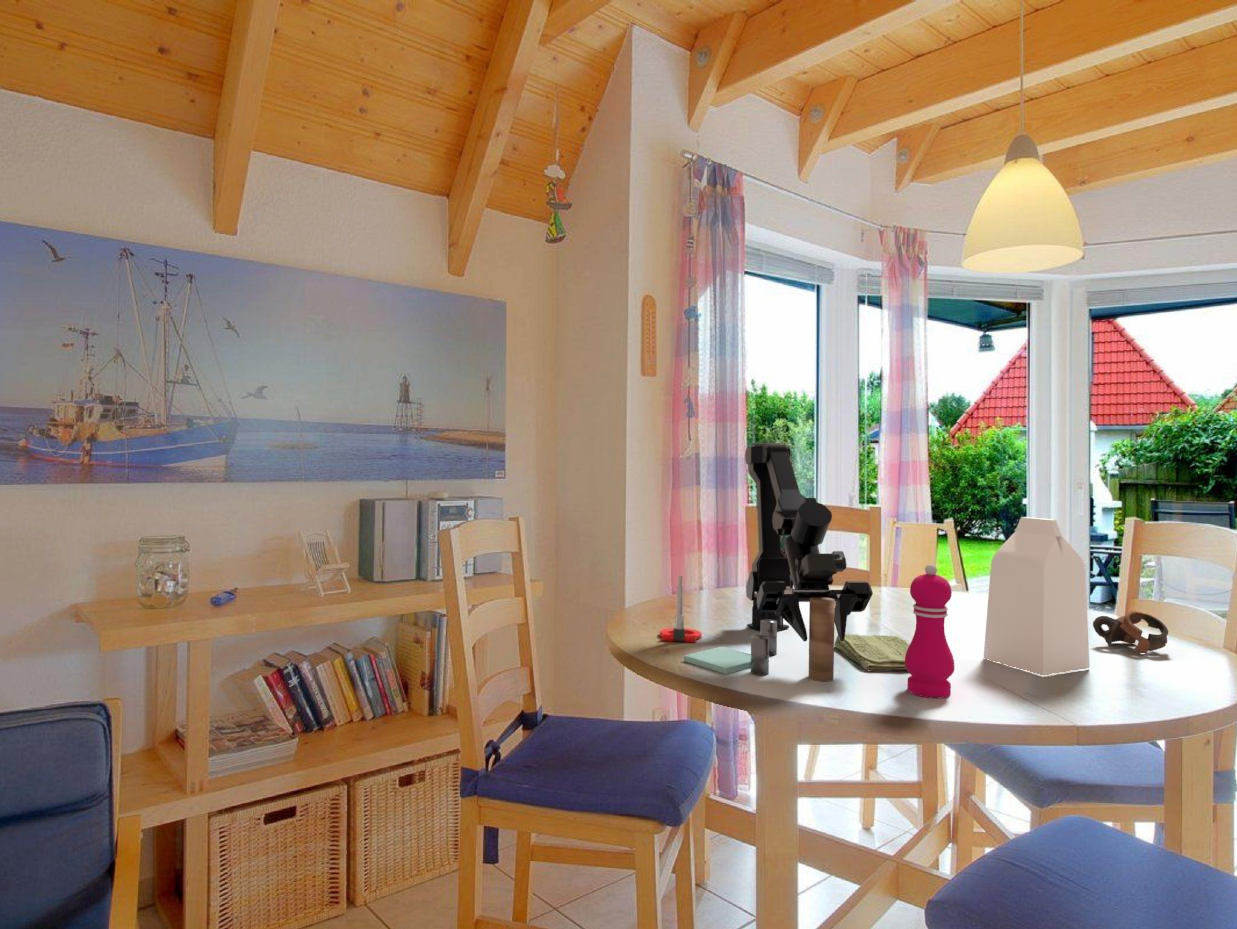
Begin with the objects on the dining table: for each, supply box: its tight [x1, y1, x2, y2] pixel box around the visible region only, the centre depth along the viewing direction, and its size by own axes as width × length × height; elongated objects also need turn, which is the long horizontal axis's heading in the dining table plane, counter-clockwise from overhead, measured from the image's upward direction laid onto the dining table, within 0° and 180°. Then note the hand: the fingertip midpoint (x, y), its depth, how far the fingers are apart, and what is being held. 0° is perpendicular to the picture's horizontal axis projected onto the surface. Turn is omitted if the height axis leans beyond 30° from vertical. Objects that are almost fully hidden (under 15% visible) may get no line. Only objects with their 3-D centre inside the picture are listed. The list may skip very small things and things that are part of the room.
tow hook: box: [659, 575, 703, 643], centre depth 153 cm, size 8×13×9 cm
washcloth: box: [834, 633, 910, 672], centre depth 138 cm, size 13×18×3 cm
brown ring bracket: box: [1092, 610, 1169, 654], centre depth 146 cm, size 12×9×8 cm
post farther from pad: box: [759, 619, 778, 657], centre depth 141 cm, size 3×3×6 cm
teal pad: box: [683, 646, 751, 675], centre depth 134 cm, size 10×10×1 cm
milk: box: [983, 516, 1090, 675], centre depth 135 cm, size 12×12×26 cm
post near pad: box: [750, 634, 770, 676], centre depth 128 cm, size 3×3×6 cm
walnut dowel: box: [808, 597, 835, 682], centre depth 126 cm, size 4×4×13 cm
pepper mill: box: [905, 563, 955, 698], centre depth 119 cm, size 7×7×20 cm
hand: (824, 640), depth 124 cm, fingers open, 6 cm apart
